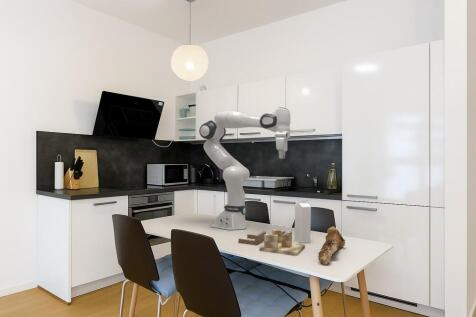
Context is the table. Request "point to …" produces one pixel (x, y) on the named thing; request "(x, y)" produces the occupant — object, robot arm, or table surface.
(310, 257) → the table surface
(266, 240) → the stand
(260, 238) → the brown u-shaped block
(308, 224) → the milk
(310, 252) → the table surface
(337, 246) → the sculpture
